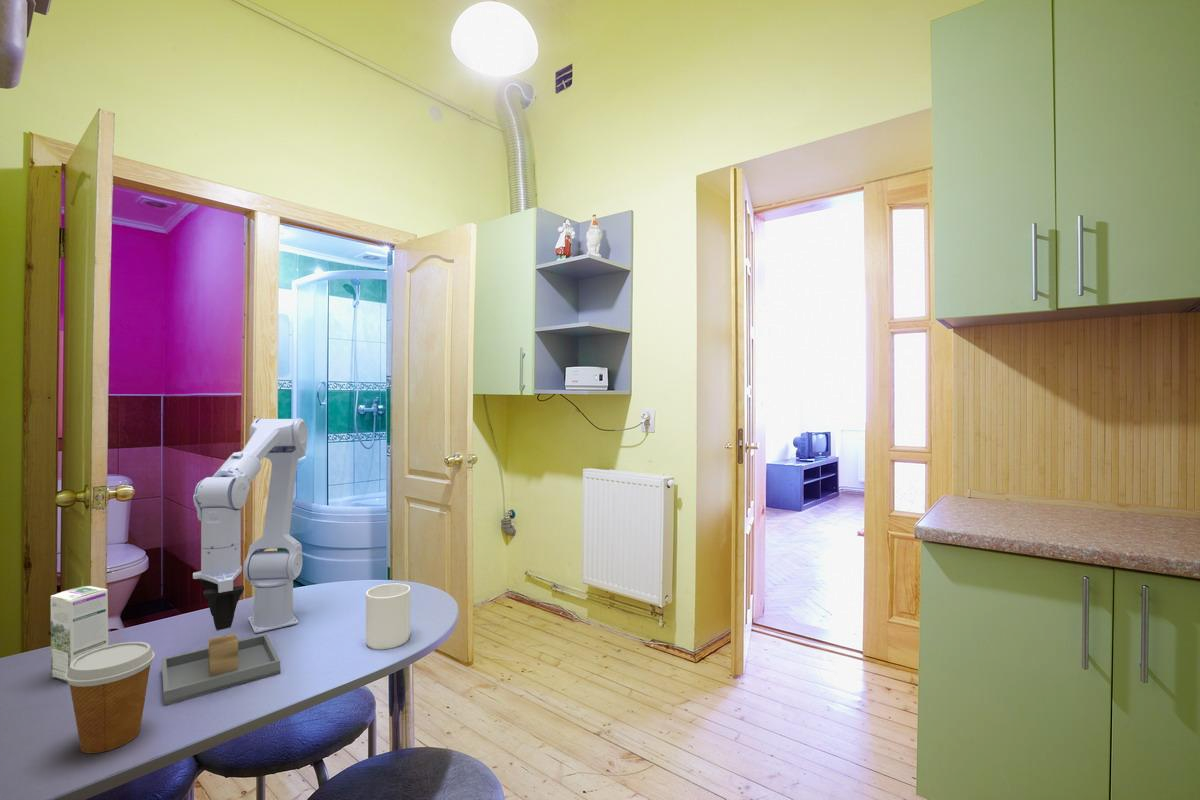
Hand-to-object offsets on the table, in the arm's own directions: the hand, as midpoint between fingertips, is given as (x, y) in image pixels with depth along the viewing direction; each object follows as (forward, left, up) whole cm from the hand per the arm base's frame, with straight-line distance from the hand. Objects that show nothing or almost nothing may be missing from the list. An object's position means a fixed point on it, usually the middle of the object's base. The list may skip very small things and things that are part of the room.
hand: (221, 621), depth 96 cm
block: (0, 0, -8) cm, 8 cm away
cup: (+4, +27, -9) cm, 29 cm away
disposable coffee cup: (+13, -14, -9) cm, 21 cm away
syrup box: (-15, -19, -9) cm, 26 cm away
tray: (0, 0, -9) cm, 9 cm away
